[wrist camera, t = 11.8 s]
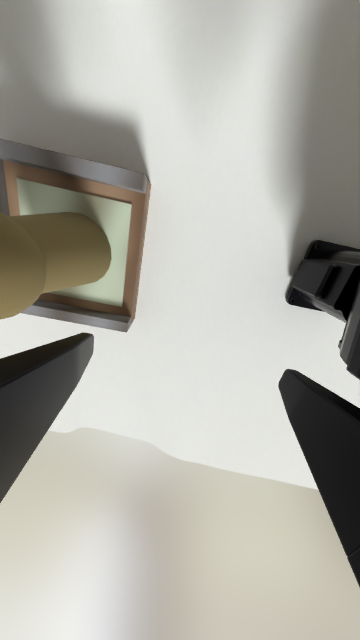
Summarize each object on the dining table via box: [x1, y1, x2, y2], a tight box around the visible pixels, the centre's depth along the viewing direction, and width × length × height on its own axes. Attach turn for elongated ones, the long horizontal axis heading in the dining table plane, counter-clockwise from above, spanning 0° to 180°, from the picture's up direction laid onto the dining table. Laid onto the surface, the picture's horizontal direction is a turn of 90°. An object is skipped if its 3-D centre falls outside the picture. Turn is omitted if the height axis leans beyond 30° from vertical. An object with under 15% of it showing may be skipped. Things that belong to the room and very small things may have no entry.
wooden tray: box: [0, 139, 151, 332], centre depth 18 cm, size 12×13×4 cm
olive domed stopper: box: [0, 212, 112, 319], centre depth 12 cm, size 6×6×11 cm
